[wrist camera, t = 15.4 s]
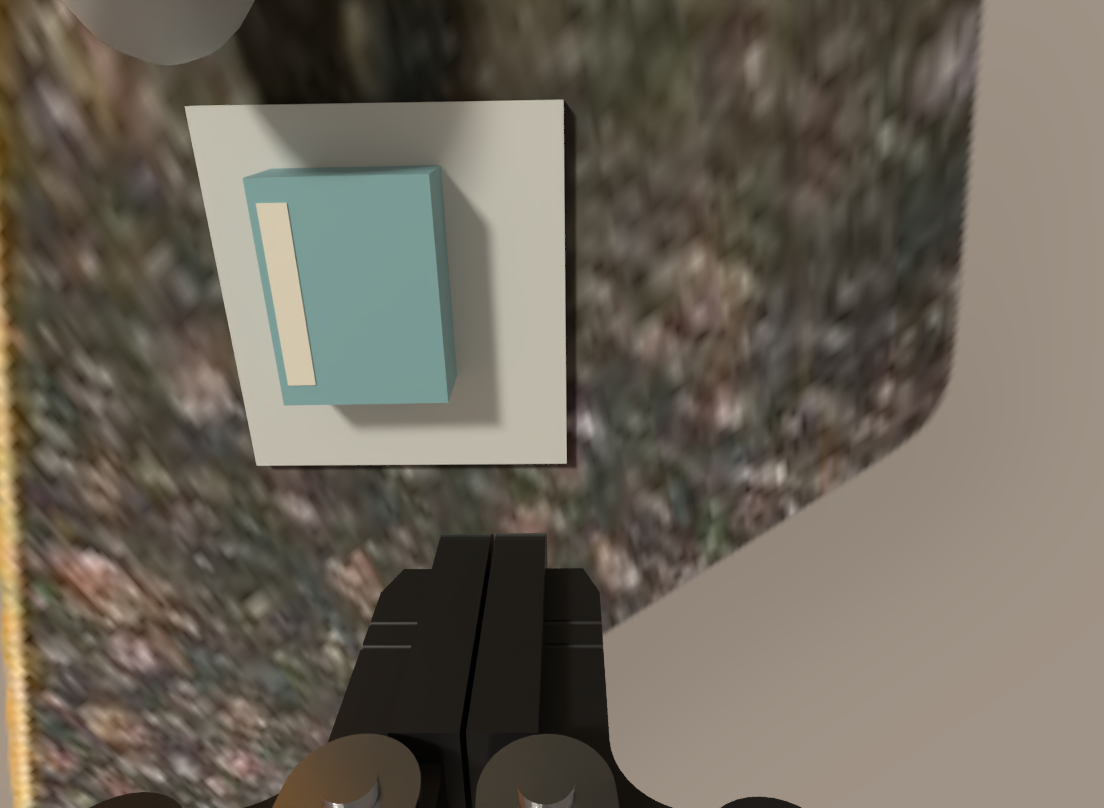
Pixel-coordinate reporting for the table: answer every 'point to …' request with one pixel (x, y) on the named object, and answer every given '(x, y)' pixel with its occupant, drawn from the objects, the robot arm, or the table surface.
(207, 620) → the table surface
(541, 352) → the mat
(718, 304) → the table surface
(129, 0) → the donut
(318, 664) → the table surface
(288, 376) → the box
